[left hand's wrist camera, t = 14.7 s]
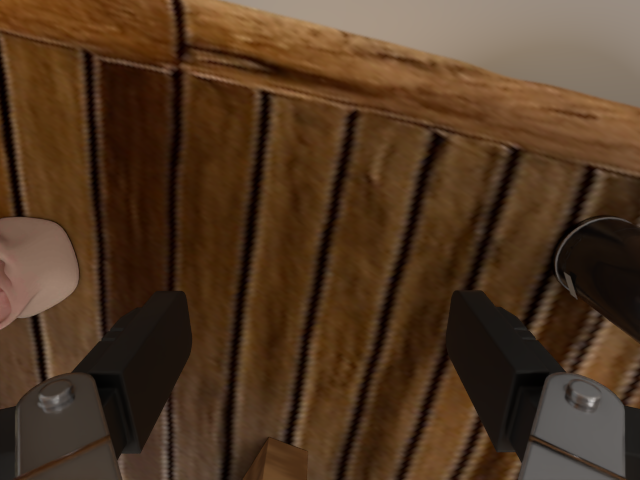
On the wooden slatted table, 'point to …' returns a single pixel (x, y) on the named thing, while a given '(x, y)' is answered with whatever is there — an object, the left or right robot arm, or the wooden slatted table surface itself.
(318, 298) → the wooden slatted table surface
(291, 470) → the box
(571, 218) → the wooden slatted table surface
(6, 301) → the anatomical model
